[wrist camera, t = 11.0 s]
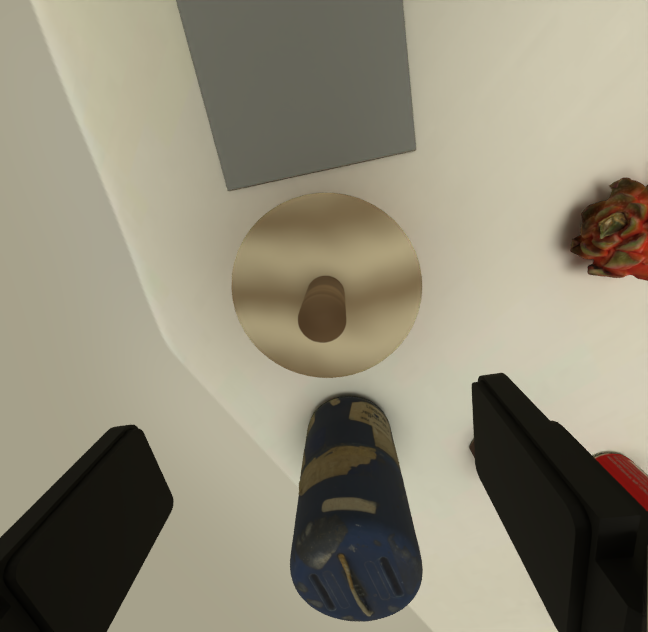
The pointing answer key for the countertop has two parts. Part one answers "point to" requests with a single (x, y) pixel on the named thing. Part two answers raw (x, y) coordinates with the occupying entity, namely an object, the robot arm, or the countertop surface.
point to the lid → (326, 285)
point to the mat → (300, 83)
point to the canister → (353, 517)
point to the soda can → (627, 475)
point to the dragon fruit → (616, 232)
